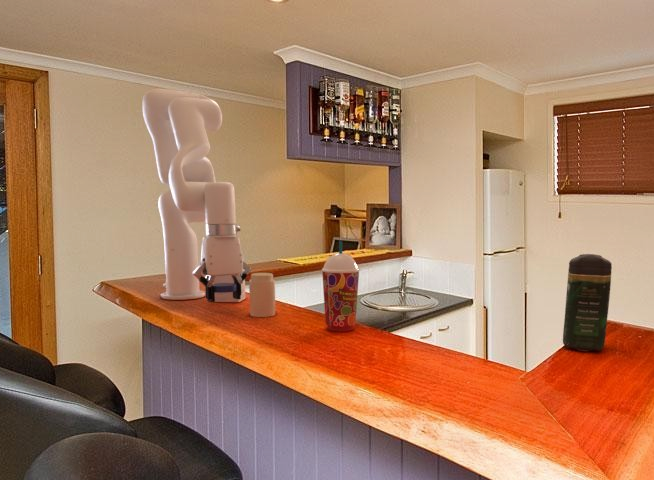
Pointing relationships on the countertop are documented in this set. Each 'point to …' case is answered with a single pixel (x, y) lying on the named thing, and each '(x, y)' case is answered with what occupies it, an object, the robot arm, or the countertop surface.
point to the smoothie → (340, 291)
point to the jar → (262, 295)
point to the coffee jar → (587, 302)
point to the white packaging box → (228, 295)
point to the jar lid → (224, 287)
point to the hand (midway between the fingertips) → (224, 299)
